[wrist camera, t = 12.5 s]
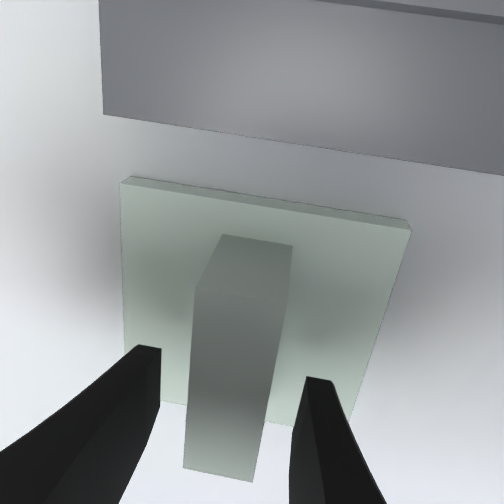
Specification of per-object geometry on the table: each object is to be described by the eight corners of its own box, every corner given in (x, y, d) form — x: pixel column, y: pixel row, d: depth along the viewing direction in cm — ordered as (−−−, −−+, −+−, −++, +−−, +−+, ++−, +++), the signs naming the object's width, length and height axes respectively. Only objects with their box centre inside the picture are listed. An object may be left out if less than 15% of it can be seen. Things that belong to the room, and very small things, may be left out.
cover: (402, 214, 11) (447, 289, 8) (341, 410, 15) (351, 525, 11) (136, 172, 12) (57, 222, 8) (138, 371, 16) (83, 469, 12)
